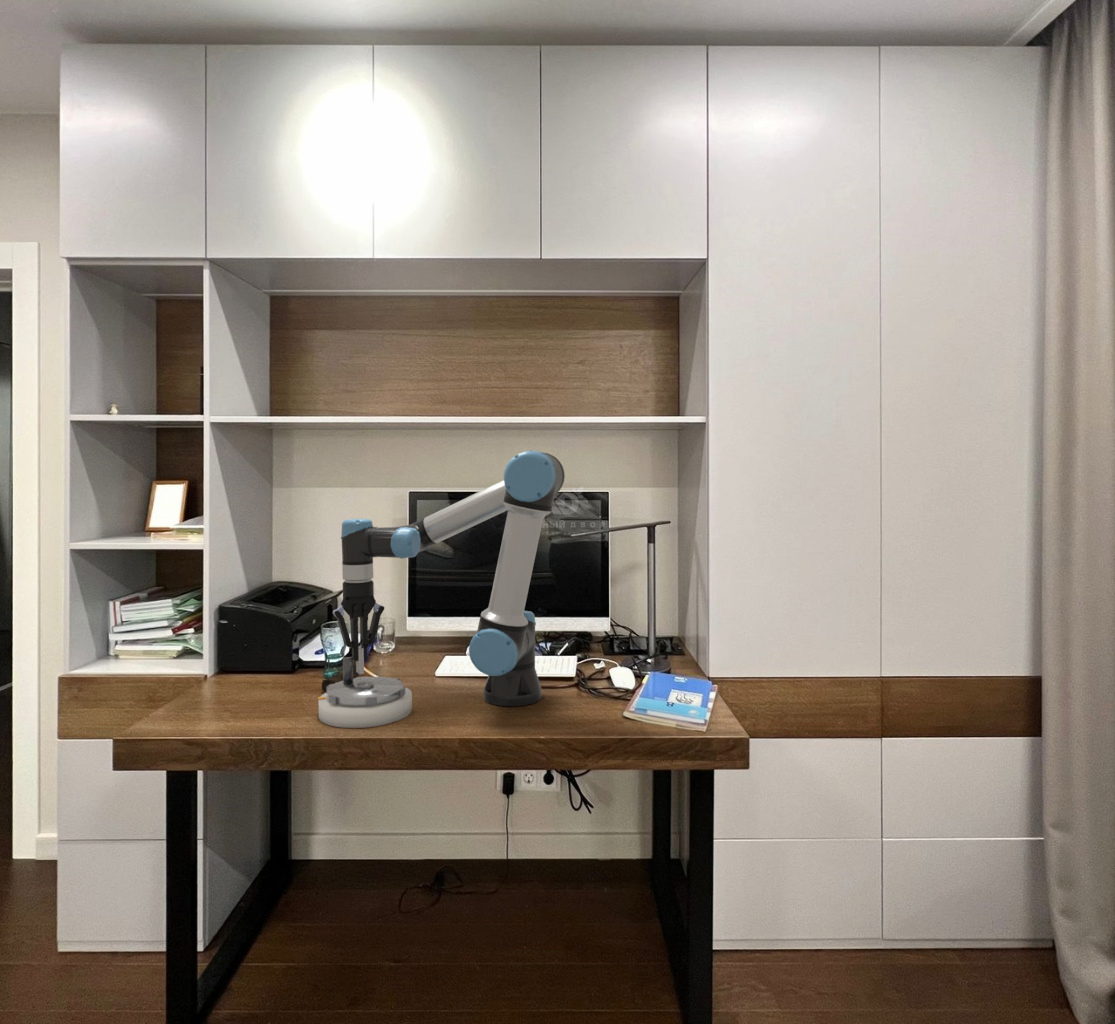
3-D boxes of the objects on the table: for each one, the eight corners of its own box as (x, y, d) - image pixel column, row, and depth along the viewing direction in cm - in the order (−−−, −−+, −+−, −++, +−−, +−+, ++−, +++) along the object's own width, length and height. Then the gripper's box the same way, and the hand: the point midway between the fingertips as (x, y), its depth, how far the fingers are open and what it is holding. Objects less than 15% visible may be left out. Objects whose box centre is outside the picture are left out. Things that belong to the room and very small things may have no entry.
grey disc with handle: (420, 692, 175) (420, 660, 175) (356, 712, 160) (356, 677, 159) (374, 679, 186) (373, 649, 185) (309, 697, 170) (309, 664, 170)
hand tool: (334, 694, 188) (334, 677, 188) (321, 693, 189) (321, 676, 189) (367, 675, 207) (367, 659, 207) (354, 674, 208) (354, 659, 207)
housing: (427, 703, 180) (427, 686, 180) (381, 732, 159) (381, 713, 159) (353, 695, 187) (352, 679, 186) (299, 722, 166) (298, 703, 166)
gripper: (378, 576, 184) (379, 665, 185) (328, 580, 177) (330, 673, 179) (387, 580, 178) (389, 672, 179) (336, 584, 171) (338, 680, 172)
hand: (360, 672), depth 179 cm, fingers closed
